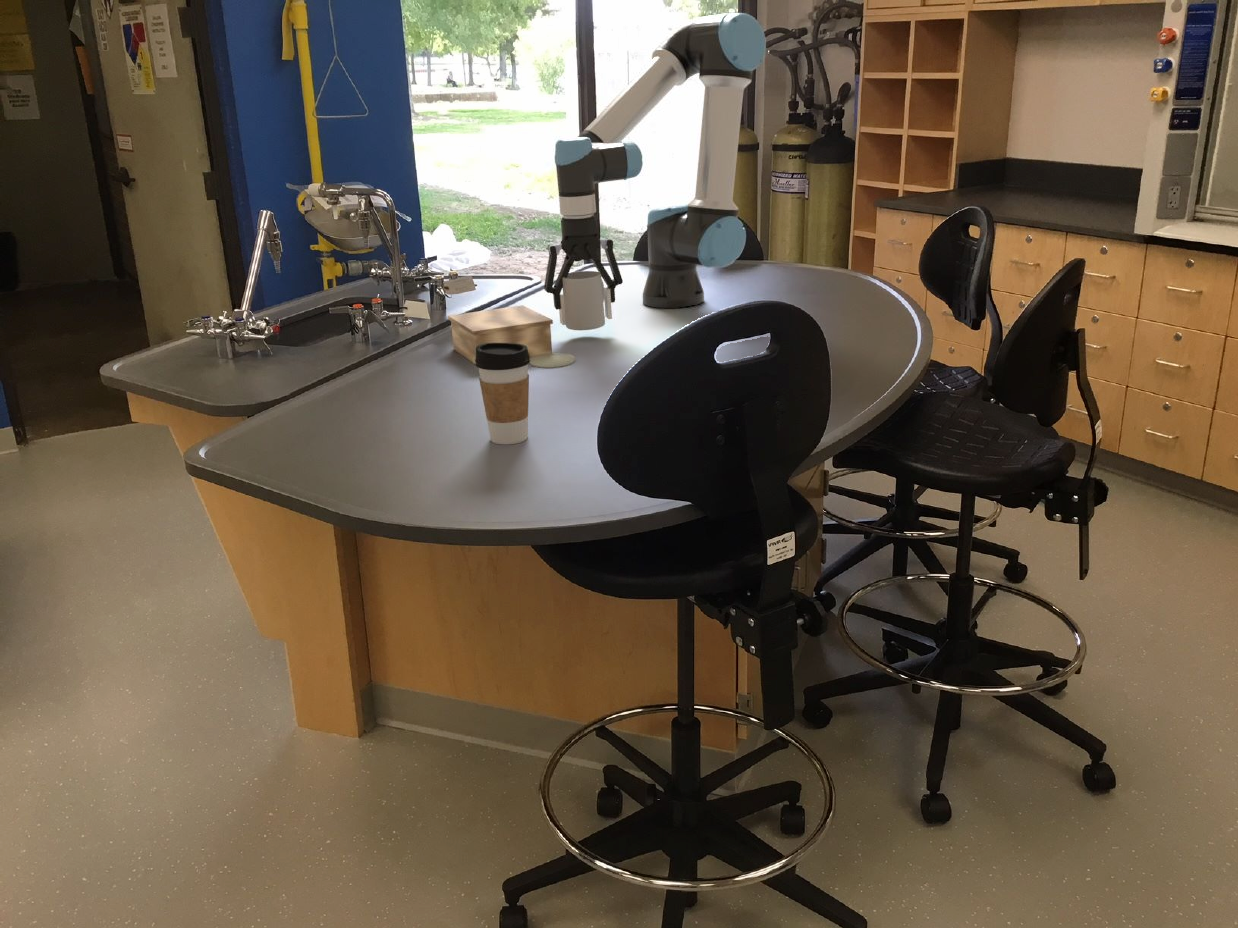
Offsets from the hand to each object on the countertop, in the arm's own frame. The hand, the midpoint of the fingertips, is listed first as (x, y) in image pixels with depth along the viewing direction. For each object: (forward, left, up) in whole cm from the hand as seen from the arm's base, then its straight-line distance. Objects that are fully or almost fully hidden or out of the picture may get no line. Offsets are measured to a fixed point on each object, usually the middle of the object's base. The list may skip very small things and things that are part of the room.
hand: (586, 320), depth 219 cm
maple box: (+20, +5, -3) cm, 21 cm away
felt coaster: (+12, +17, -3) cm, 21 cm away
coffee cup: (+28, +59, -4) cm, 66 cm away
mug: (-1, 0, -1) cm, 1 cm away
